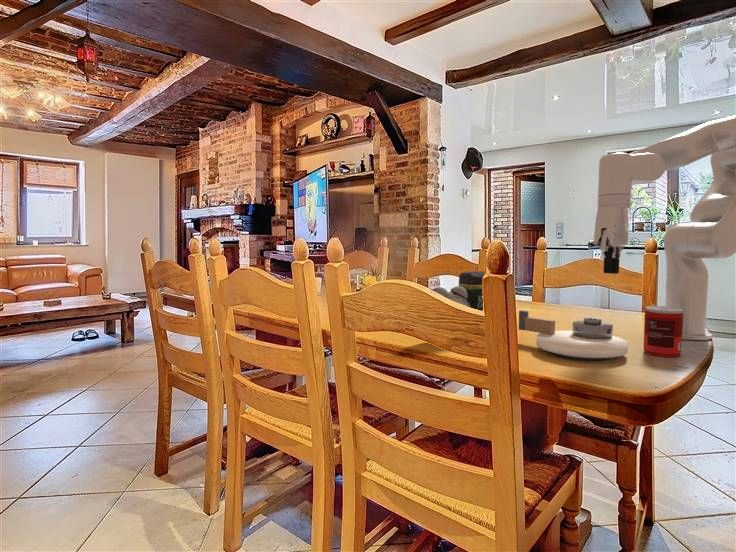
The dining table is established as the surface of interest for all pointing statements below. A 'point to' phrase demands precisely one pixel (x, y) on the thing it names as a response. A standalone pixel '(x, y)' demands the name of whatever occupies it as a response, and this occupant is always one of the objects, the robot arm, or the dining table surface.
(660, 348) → the canned food
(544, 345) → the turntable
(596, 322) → the cover
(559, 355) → the stand
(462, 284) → the coffee jar
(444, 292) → the alarm clock
